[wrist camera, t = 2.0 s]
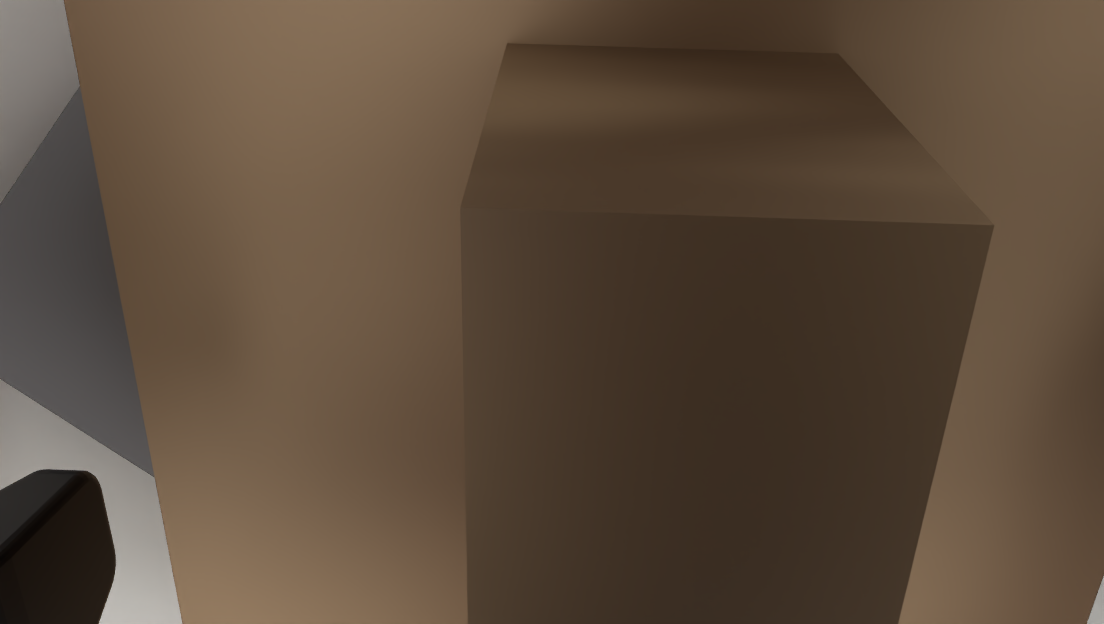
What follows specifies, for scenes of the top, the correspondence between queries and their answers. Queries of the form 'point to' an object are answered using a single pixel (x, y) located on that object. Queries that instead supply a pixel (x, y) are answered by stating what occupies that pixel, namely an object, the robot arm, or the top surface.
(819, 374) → the ridged wooden block
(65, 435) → the top surface
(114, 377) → the mat
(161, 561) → the top surface
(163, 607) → the top surface
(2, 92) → the top surface
